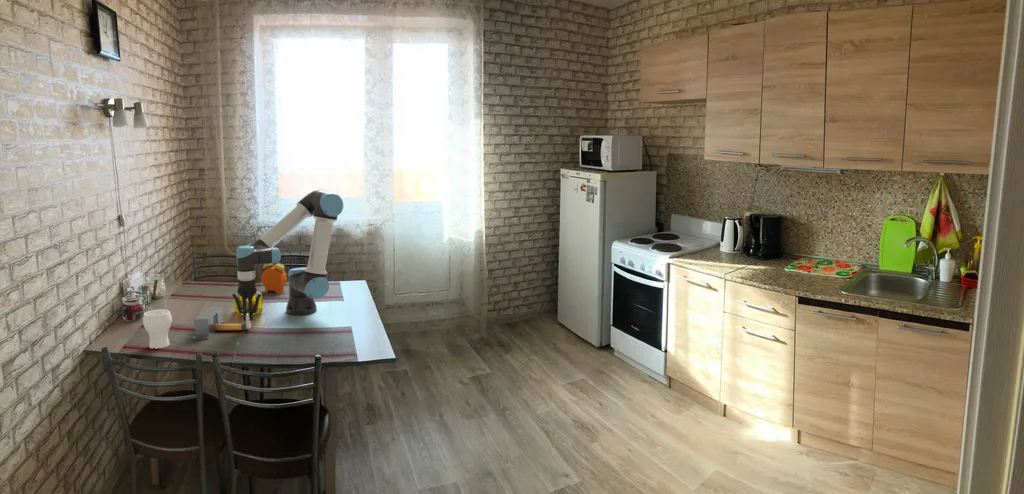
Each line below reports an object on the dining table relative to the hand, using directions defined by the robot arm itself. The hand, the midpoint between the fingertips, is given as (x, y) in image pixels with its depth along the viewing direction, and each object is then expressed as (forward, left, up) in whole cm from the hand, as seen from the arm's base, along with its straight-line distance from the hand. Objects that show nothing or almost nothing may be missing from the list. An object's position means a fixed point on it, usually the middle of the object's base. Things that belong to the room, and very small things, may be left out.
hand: (248, 327), depth 288 cm
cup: (+32, +20, -2) cm, 37 cm away
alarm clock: (+4, -68, -2) cm, 68 cm away
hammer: (+10, 0, -1) cm, 10 cm away
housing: (+18, 0, -1) cm, 18 cm away
